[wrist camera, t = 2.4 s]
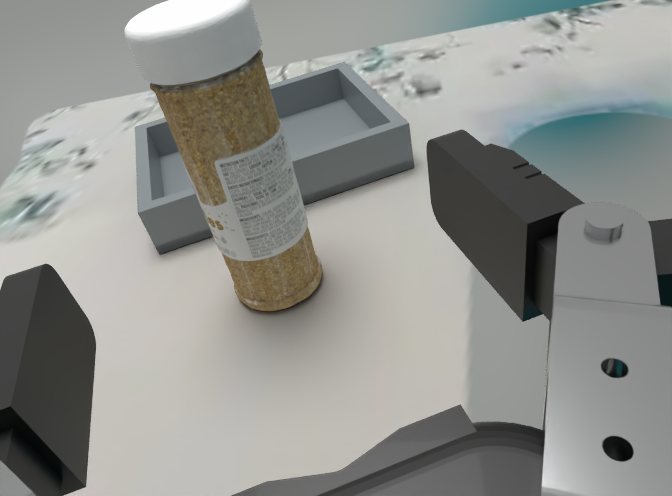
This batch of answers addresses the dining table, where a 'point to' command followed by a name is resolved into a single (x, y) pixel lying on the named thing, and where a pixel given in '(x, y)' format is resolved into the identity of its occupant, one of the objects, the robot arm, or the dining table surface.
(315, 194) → the box
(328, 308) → the dining table surface
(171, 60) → the sprinkles bottle
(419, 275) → the dining table surface
